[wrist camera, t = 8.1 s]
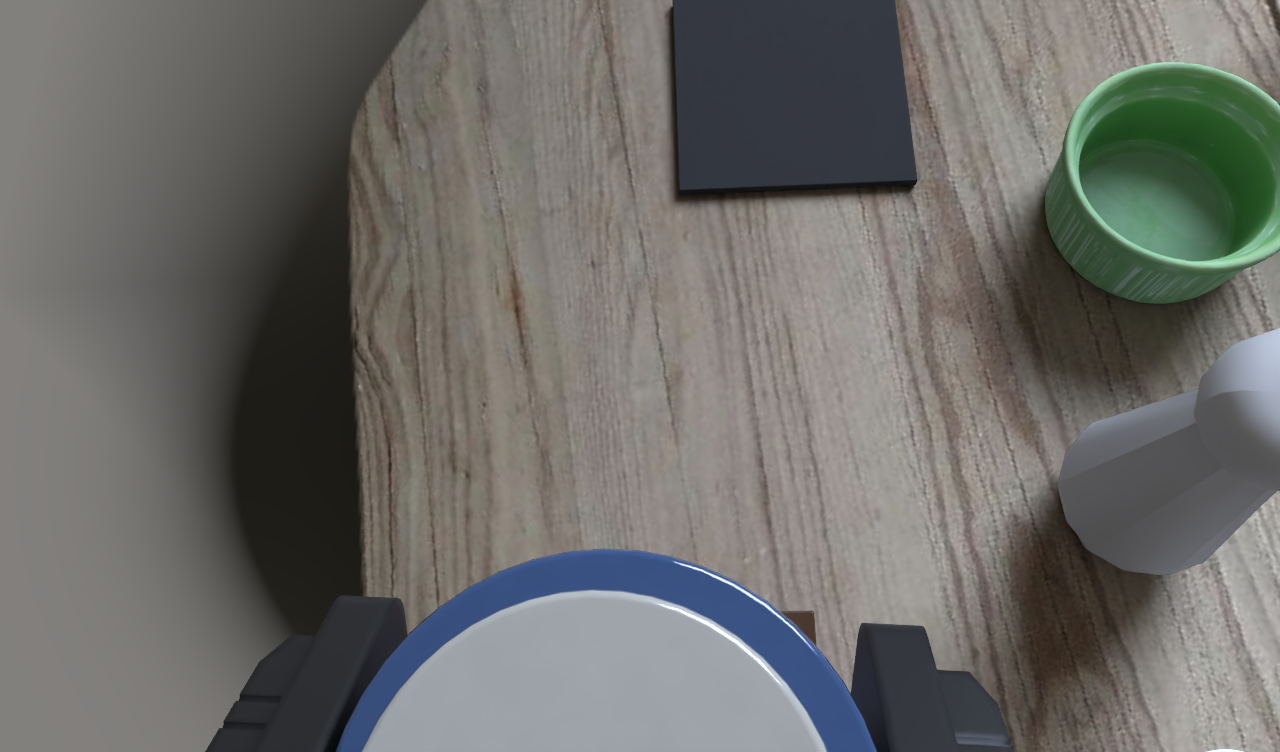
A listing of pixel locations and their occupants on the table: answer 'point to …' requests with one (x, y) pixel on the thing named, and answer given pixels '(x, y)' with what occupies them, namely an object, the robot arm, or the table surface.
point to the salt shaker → (1180, 466)
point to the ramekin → (1167, 182)
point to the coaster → (790, 96)
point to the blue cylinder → (606, 668)
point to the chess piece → (1224, 750)
